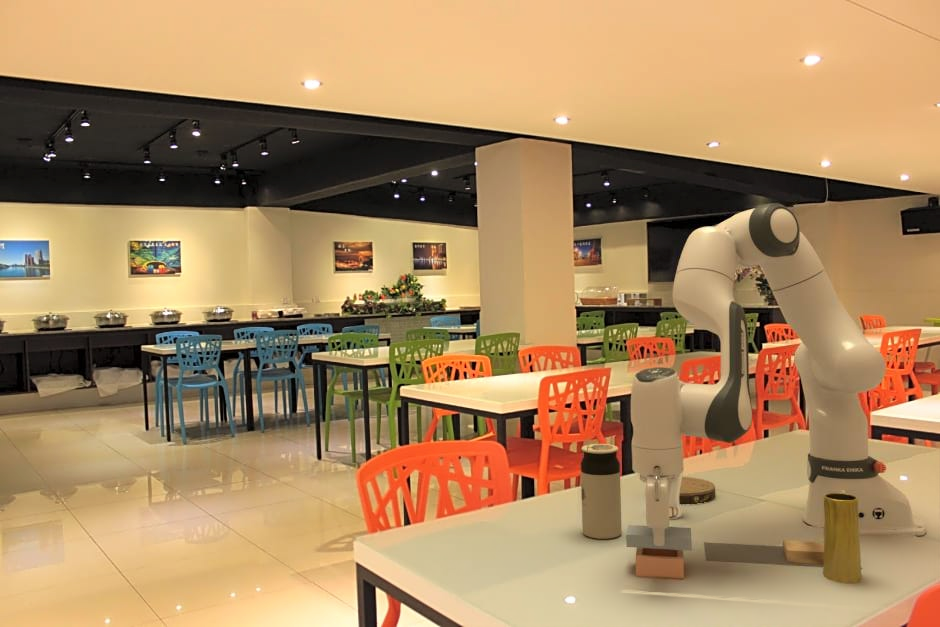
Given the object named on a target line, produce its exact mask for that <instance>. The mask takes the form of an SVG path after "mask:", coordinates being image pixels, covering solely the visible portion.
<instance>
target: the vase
mask: <svg viewBox="0 0 940 627" xmlns="http://www.w3.org/2000/svg"><path fill="white" fill-rule="evenodd" d="M823 539H824V540H823V542H824V558H823V567H822V569H823V570H822V575H823V578H826V579H827V580H830V581H833V582H836V583H841V584H854V583H855V584H858V583H860V582H861V581H863V577H862V576H863V575H862V569H861V568H862V561H861V560H862V559H861V545H860V544H861V543H860V542H861V541H860V534H859V523H858V498H857V496H855V495H852V494H847V493H827V494H824V528H823Z"/></svg>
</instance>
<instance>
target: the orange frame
mask: <svg viewBox="0 0 940 627" xmlns="http://www.w3.org/2000/svg"><path fill="white" fill-rule="evenodd" d="M684 566H685V564H684V550H672V549H654V548H636V550H635V577H637V578H638V577H640V578H651V579H652V578H654V579H667V580H668V579H670V580H671V579H672V580H685V571H684V570H685V569H684Z"/></svg>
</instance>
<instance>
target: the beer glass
mask: <svg viewBox="0 0 940 627" xmlns="http://www.w3.org/2000/svg"><path fill="white" fill-rule="evenodd" d="M683 472H684V471H683ZM683 472H682V473H680V474H676V481H675V482H672V483H671V489H670V507H669V520H677V519H680V518H682V515H683V513H682V510H681V505H680V500H679V499H680V489H681V483H682V477H683V475H684V474H683Z"/></svg>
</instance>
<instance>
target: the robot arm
mask: <svg viewBox="0 0 940 627" xmlns="http://www.w3.org/2000/svg"><path fill="white" fill-rule="evenodd" d="M756 266H759V267H760V268H762V271H763V273H764V276H765V278H766V282H767V284H768V286H769V287H770V288H769V289H770V290H771V292H772V295H773V296H774V300H775V301H776V303H777V305H778V308H779V309H780V311H781V313H782V315H783V317H784V318H783V319H784V320H785V323H786V324H787V325H788V327H790V329H791V330H792V331H794V333H795V334H796V335H797V336H798V338H799V340H800V341H801V343H800V344H799V345H798V346H797V348H796V350H795V352H794V357H793V361H794V365H795V368H796V370H797V372H798V374H799V377H800V380H801V385H802V391H803V394H804V395H803V396H804V399H805V403H806V408H807V414H808V415H807V416H808V426H809V427H808V428H809V430H808V431H809V452H808V454H807V460H806V461H807V462H806V466H807V468H806V472H807V478H808V481H809V482H808V491H807V492H808V493H807V500H806V505H805V509H804V513H803V516H802V520H803V521H804V523H806V524H808V525H810V526H811V527H819V528H823V529H824V494H827V493H847V494H852V495H855V496H857V498H858V523H859V535H911V534H912V535H913V534H914V535H915V536H919V537H920V536H924V535H925V534H926V533H927V529H926V525H925V523H924V522H923V521H922V520H921V519H920V518H918V517H916V515H913V510H912V506H911V503H910V500H909V499H908V497H907V496H906V494H904V493H903V492H902V491H900V490H899V489H898V488H897V487H895V486H894V485H893V484H892V483H890V481H887V479H884V478H883V477H882V476H881V475H879V474H883V473H886V471H887V466H886V465H885V463H883V462H882V461H879V460H877V459H875V458H873V457H871V456H870V455H869V421H868V417H867V415H866V413H865V412H864V410H863V408H862V405H861V402H860V399H859V394H860V393H866V392H869V391H872V390H874V389H875V388H877V387H878V386H879V385H880V384H881V383H882V381H883V380H884V378H885V375H886V370H887V369H886V368H887V365H886V360H885V357H884V356H883V354H882V353H881V352H880V351H879V350H878V349H877V348H876V347H875V346H874V345H873V344H872V343H871V342H870V341H869V340H868V339H867V337H866V336H865V335H864V333H863V332H862V330H861V329H860V328H859V325H858V324H857V323H856V322H855V320H854V319H853V318H852V316H851V315H850V314H849V313H848V311H847V309H846V308H845V306H844V305H843V304H842V301H841V300H840V299H839V296H838V294H837V292H836V290H835V288H834V286H833V284H832V281H831V279H830V278H829V275H828V274H827V272H826V269H825V267H824V265H823V263H822V261H821V259H820V257H819V256H818V254H817V251H815V249H814V247H813V245H811V242H810V241H809V240H808V239H807V237H806V236H805V235H804V233H802V232H801V231H800V225H799V221H798V220H797V217H796V216H795V214H794V213H793V212H792V210H790V209H789V208H788V207H787V206H785V205H783V204H781V203H777V202H775V203H774V202H773V203H765V204H760V205H758V206H756V207H754V208H751V209H746V210H744V211H741V212H738V213H736V214H734V215H733V216H731V217H729V218H727V219H725V220H724V221H722V222H720V223H718V224H713V225H712V226H702V227H699V228H697V229H695V230H693V231H692V232H691V234H689V236H688V238H687V239H686V242H685V243H684V246H683V249H682V251H681V254H680V258H679V260H678V264H677V267H676V272H675V276H674V281H673V286H672V295H671V296H672V302H673V306H674V307H675V309H676V311H677V312H678V313H679V315H680V316H681V317H683V318H684V319H685V320H686V321H687V322H688V323H689V322H690V323H691V324H692V325H694V326H697V327H699V328H701V329H704V330H707V331H709V332H711V333H712V334H715V335H717V336H718V338H719V341H720V379H719V381H718V382H717V383H715V384H708V383H707V384H705V383H703V384H702V383H691V382H684V381H682V380H680V379H679V375H678V374H677V371H676V370H674V368H669V367H663V366H662V367H651V368H645V369H642V370H640V371H639V372H636V374H635V375H634V377H633V380H632V387H631V393H630V394H631V395H630V422H631V424H632V429H633V434H632V439H631V467H632V468H631V469H632V471H633V472H635V474H636V473H637V474H639V480H640V481H641V482H644V483H646V484H645V514H646V515H645V517H646V518H645V519H646V526H648V527H649V528H652V529H653V535H654V545H656V546H664V544H665V540H664V534H665V529H666V528H668V527H670V519H669V507H670V489H671V483H672V482H675V481H676V474H680V473H682V472H684V467H685V466H684V442H683V438H682V436H686V437H695V438H703V439H710V440H712V441H713V440H714V441H718V442H723V443H726V444H732V443H734V442H736V441H738V440H739V439H740V438H742V437H743V436H745V435H746V434H747V433H748V432H749V430H750V429H751V427H752V421H753V409H752V408H753V406H752V400H751V392H750V369H749V368H750V367H749V366H750V365H749V364H750V362H749V357H750V356H749V333H748V321H747V316H746V313H745V310H744V308H743V307H742V305H741V304H740V303H737V302H736V301H735V298H734V292H733V291H734V284H735V278H736V271H740V270H745V269H749V268H750V269H751V268H752V267H756Z"/></svg>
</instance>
